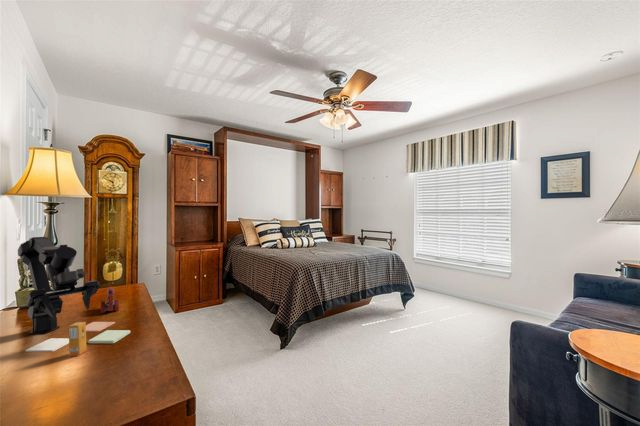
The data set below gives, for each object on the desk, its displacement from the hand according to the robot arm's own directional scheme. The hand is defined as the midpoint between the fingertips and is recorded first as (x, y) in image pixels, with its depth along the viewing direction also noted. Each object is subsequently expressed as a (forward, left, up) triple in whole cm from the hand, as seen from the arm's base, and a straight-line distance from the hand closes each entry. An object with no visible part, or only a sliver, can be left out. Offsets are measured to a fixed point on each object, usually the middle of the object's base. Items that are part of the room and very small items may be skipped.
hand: (71, 312), depth 96 cm
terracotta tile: (-6, +19, -13) cm, 24 cm away
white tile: (-9, +3, -13) cm, 16 cm away
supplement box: (+5, -3, -13) cm, 14 cm away
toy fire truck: (-15, +39, -13) cm, 44 cm away
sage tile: (+7, +9, -12) cm, 17 cm away
